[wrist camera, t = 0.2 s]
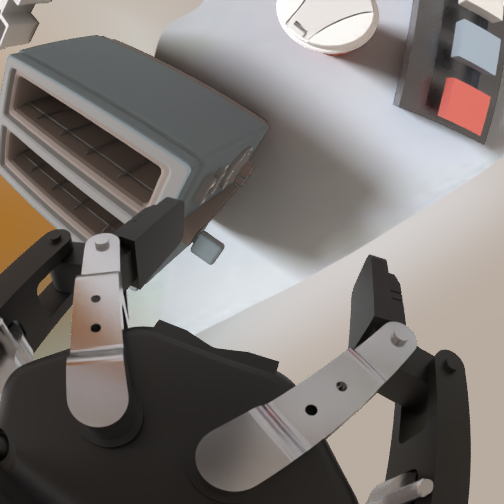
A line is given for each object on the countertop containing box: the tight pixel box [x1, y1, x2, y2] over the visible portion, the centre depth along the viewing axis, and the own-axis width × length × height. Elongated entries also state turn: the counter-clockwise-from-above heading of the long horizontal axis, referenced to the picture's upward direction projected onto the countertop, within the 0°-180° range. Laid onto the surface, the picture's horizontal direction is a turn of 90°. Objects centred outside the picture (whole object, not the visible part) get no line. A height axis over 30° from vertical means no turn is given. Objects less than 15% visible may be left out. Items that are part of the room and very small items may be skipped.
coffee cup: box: [277, 0, 379, 56], centre depth 22 cm, size 8×8×15 cm
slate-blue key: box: [451, 19, 501, 76], centre depth 18 cm, size 4×4×5 cm
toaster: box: [0, 35, 269, 291], centre depth 33 cm, size 19×35×20 cm, turn 58°
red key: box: [438, 78, 491, 136], centre depth 22 cm, size 4×4×5 cm
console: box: [393, 0, 504, 144], centre depth 22 cm, size 20×12×4 cm, turn 171°
